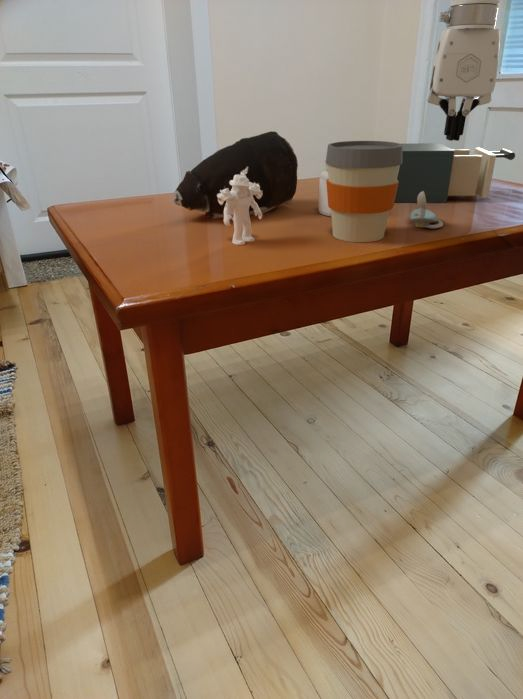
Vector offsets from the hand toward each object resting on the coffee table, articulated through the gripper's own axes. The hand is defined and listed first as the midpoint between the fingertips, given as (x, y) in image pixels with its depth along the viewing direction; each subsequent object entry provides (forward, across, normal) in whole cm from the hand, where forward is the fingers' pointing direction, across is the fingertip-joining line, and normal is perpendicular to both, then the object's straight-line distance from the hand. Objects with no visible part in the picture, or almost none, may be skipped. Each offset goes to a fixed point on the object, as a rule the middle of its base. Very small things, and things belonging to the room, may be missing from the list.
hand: (452, 139), depth 92 cm
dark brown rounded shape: (+15, -41, +5) cm, 44 cm away
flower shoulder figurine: (+15, -37, -16) cm, 43 cm away
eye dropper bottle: (+15, -21, +4) cm, 26 cm away
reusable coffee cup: (+15, -17, -12) cm, 25 cm away
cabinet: (+14, -3, +22) cm, 26 cm away
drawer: (+13, +9, +22) cm, 27 cm away
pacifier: (+15, -4, -5) cm, 16 cm away
